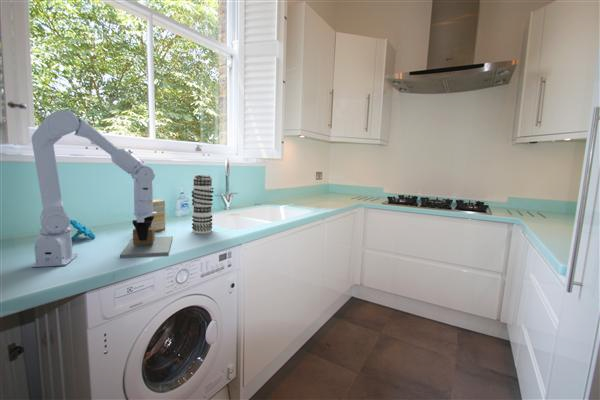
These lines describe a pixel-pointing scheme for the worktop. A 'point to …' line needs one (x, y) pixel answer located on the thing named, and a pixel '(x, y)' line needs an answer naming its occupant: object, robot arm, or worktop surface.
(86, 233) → the gear
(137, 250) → the hub board
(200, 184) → the decorative candle
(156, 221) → the supplement box
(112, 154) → the robot arm
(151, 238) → the collar
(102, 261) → the worktop surface
